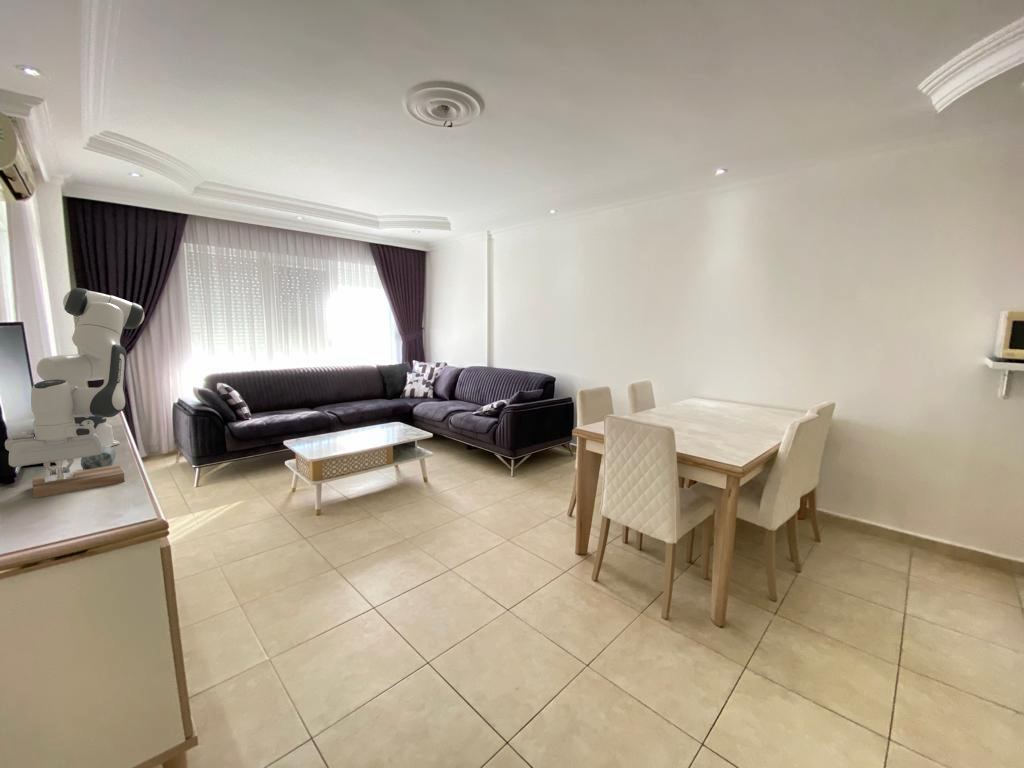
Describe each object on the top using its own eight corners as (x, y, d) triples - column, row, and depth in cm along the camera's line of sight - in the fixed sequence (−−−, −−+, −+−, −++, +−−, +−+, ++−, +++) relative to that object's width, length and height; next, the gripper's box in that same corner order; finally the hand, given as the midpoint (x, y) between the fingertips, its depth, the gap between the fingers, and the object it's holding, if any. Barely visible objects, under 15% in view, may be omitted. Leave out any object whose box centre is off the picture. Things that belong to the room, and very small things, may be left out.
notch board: (33, 487, 132) (32, 478, 132) (119, 472, 147) (118, 464, 147) (33, 498, 124) (32, 488, 124) (124, 481, 140) (123, 472, 139)
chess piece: (75, 483, 135) (71, 453, 134) (53, 487, 131) (49, 457, 130) (69, 480, 138) (66, 450, 136) (47, 484, 133) (44, 454, 132)
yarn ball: (119, 463, 148) (100, 439, 146) (86, 480, 142) (66, 455, 140) (127, 461, 159) (110, 440, 157) (97, 477, 154) (78, 455, 152)
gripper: (3, 439, 122) (9, 484, 124) (100, 428, 138) (104, 469, 139) (4, 435, 126) (9, 479, 128) (98, 425, 142) (102, 464, 144)
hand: (60, 473), depth 134 cm, fingers closed on chess piece
